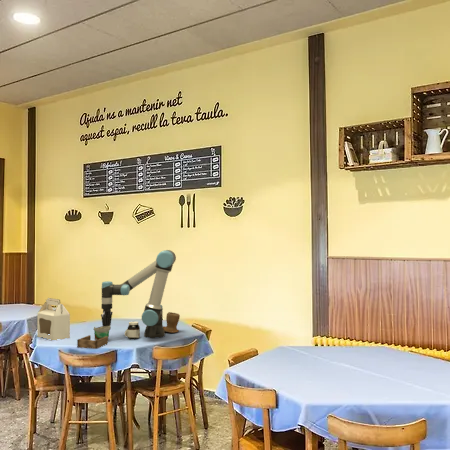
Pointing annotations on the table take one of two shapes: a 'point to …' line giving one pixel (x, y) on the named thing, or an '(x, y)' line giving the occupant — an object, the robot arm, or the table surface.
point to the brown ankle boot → (172, 322)
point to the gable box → (53, 321)
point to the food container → (101, 332)
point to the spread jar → (133, 330)
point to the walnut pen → (91, 342)
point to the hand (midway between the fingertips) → (106, 336)
